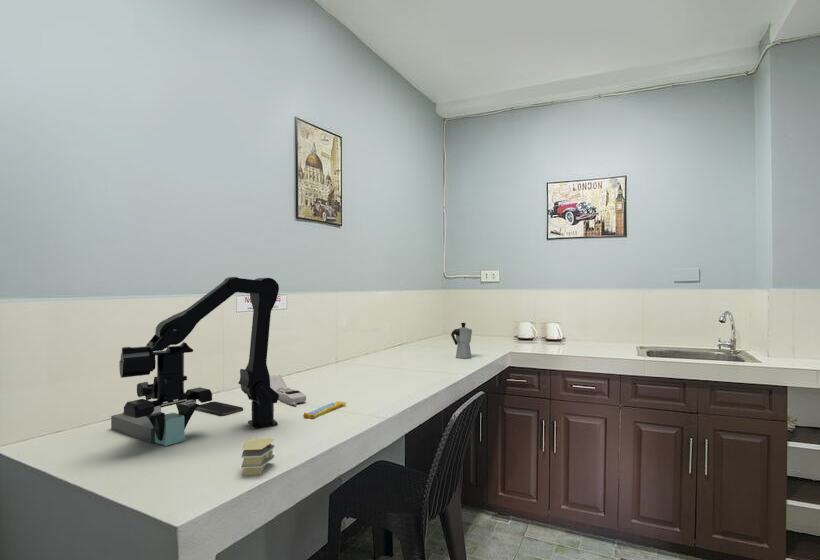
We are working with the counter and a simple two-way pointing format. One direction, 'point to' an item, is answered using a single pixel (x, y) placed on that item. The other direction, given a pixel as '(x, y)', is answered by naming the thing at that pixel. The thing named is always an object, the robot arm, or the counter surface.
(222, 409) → the phone
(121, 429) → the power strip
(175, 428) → the block
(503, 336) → the counter surface
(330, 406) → the candy bar
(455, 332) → the coffee maker
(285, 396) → the mobile phone
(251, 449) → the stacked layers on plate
